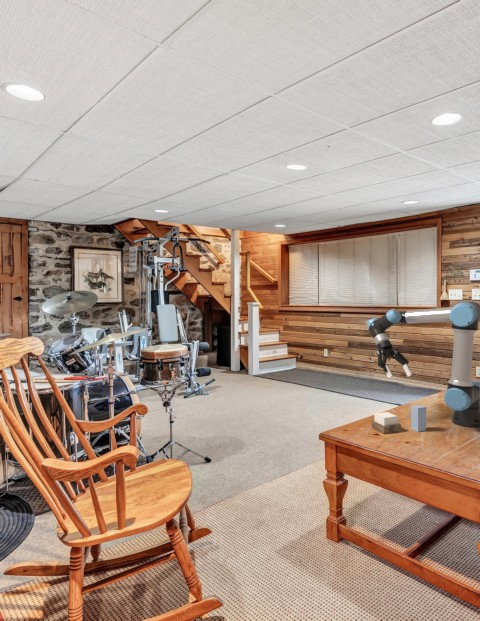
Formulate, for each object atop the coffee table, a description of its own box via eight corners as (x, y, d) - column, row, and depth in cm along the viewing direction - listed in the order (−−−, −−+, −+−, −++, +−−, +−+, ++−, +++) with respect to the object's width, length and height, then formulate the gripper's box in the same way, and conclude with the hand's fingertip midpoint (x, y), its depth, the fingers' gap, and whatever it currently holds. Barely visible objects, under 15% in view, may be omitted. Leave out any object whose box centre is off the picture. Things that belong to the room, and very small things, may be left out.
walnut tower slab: (388, 426, 218) (388, 418, 217) (401, 432, 208) (401, 424, 208) (372, 428, 215) (372, 420, 215) (384, 434, 205) (384, 426, 205)
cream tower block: (387, 419, 216) (387, 411, 216) (397, 424, 209) (397, 416, 209) (374, 421, 214) (374, 413, 214) (384, 425, 206) (384, 418, 206)
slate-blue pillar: (419, 427, 214) (419, 404, 213) (426, 430, 209) (426, 407, 208) (411, 428, 212) (411, 405, 212) (418, 431, 207) (417, 408, 207)
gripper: (396, 346, 241) (413, 378, 229) (361, 347, 231) (378, 381, 219) (404, 338, 235) (422, 371, 223) (369, 340, 225) (386, 374, 213)
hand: (400, 376), depth 221 cm, fingers open, 13 cm apart
